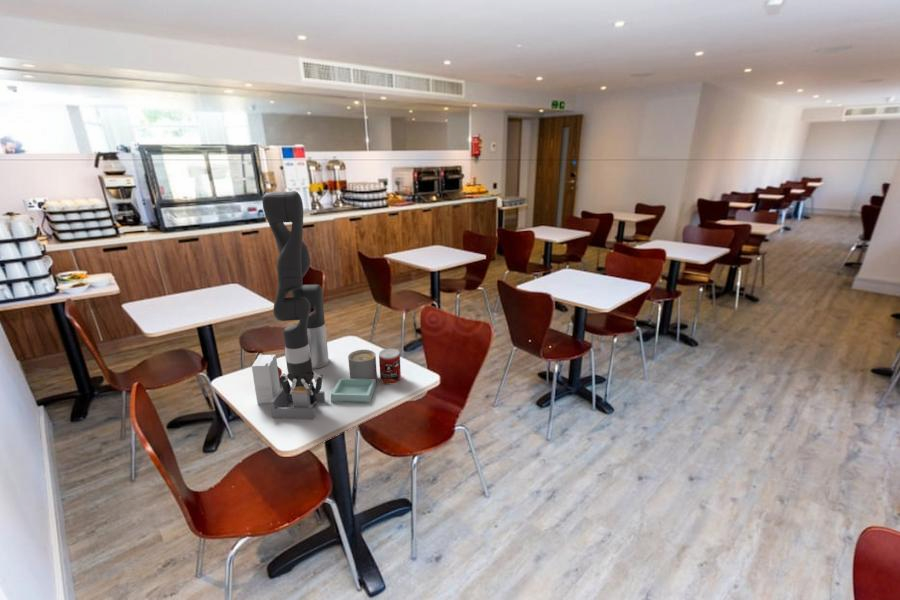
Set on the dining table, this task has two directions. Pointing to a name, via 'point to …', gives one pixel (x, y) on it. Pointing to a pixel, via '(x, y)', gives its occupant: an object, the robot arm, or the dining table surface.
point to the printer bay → (292, 412)
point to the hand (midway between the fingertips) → (304, 402)
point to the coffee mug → (362, 364)
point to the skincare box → (266, 378)
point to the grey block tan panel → (301, 398)
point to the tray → (353, 390)
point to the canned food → (389, 366)
